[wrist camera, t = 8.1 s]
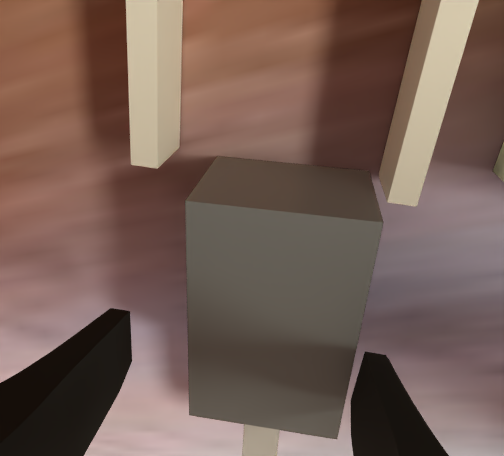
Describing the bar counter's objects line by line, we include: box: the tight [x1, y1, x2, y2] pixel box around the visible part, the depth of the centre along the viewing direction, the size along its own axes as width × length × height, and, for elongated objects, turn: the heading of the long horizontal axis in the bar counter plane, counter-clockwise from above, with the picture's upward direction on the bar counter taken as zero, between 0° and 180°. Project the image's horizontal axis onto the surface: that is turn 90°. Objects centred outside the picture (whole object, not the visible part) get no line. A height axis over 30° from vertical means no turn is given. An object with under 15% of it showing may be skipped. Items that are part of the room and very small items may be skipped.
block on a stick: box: [185, 156, 383, 456], centre depth 15 cm, size 12×5×4 cm, turn 177°
